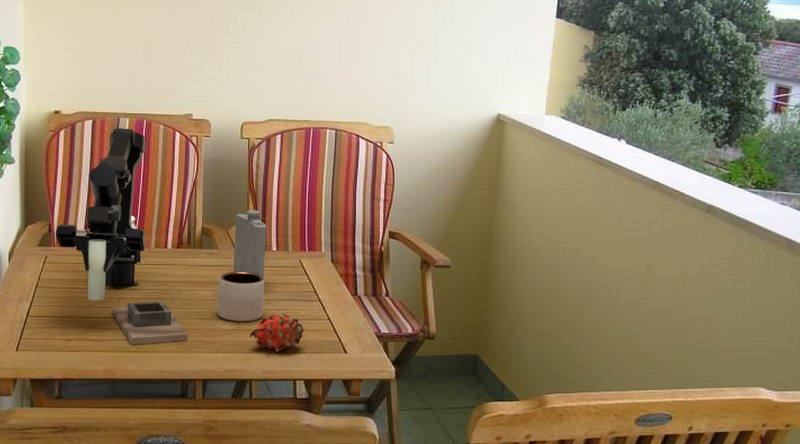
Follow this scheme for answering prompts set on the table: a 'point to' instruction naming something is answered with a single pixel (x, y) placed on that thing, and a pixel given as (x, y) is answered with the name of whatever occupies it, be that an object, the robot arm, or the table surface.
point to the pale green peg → (96, 269)
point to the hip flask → (249, 243)
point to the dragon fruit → (278, 332)
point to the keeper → (149, 323)
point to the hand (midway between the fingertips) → (95, 270)
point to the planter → (240, 296)
